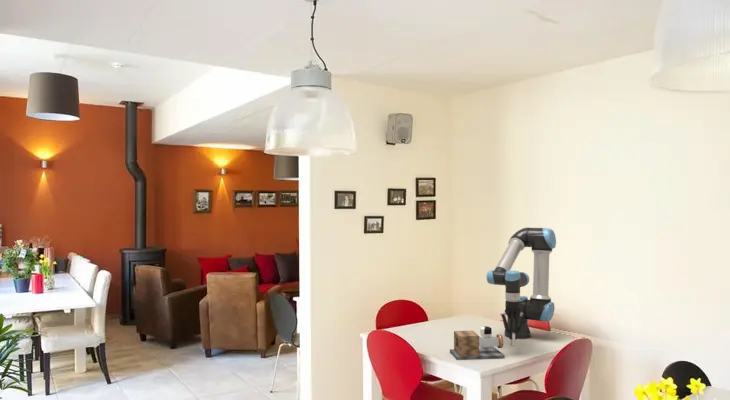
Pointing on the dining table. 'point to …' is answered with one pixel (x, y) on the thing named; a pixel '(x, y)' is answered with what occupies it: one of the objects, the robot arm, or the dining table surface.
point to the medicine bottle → (485, 334)
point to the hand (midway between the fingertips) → (512, 345)
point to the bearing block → (472, 347)
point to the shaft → (491, 341)
